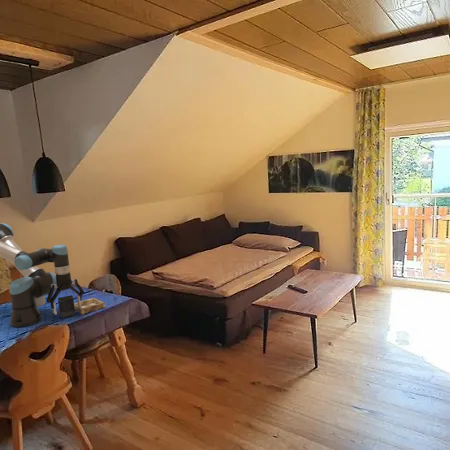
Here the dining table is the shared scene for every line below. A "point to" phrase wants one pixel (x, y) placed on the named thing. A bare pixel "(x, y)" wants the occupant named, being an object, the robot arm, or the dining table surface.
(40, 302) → the engine component
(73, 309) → the box
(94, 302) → the socket tray
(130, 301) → the dining table surface
